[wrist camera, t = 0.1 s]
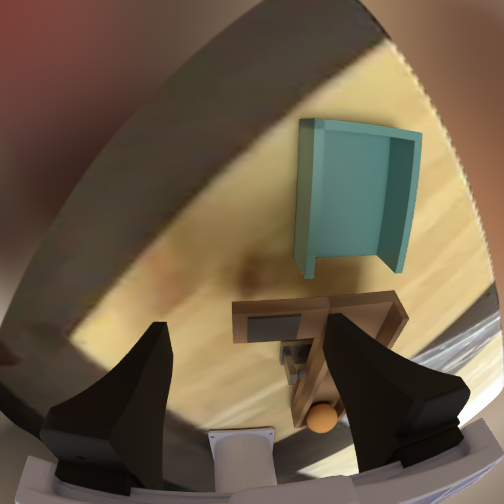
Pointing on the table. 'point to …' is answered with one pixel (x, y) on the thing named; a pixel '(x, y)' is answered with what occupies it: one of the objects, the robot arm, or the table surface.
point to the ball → (321, 418)
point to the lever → (317, 335)
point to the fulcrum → (294, 356)
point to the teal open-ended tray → (354, 191)
